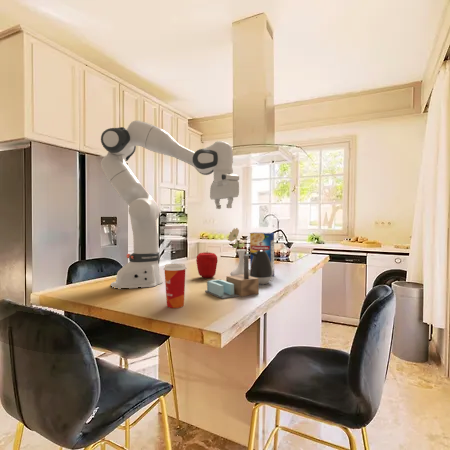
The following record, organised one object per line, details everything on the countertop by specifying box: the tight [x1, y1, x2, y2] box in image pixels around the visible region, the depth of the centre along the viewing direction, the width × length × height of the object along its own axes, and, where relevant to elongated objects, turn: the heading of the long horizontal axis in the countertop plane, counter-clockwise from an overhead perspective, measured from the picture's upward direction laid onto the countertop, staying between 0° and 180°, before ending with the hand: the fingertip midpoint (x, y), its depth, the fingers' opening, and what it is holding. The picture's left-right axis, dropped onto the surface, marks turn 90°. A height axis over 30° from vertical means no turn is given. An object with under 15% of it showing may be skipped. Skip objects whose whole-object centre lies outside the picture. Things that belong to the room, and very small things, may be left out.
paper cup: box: [163, 263, 187, 309], centre depth 107 cm, size 8×8×14 cm
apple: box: [195, 251, 218, 279], centre depth 158 cm, size 10×10×14 cm
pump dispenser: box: [249, 250, 273, 285], centre depth 143 cm, size 10×10×15 cm
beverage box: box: [249, 232, 275, 277], centre depth 163 cm, size 7×11×22 cm, turn 67°
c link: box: [206, 279, 234, 297], centre depth 123 cm, size 11×6×4 cm, turn 29°
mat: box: [204, 289, 240, 300], centre depth 123 cm, size 7×14×1 cm, turn 31°
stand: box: [225, 254, 260, 297], centre depth 125 cm, size 8×11×15 cm
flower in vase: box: [227, 227, 250, 276], centre depth 157 cm, size 13×11×25 cm
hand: (223, 208), depth 143 cm, fingers open, 8 cm apart
